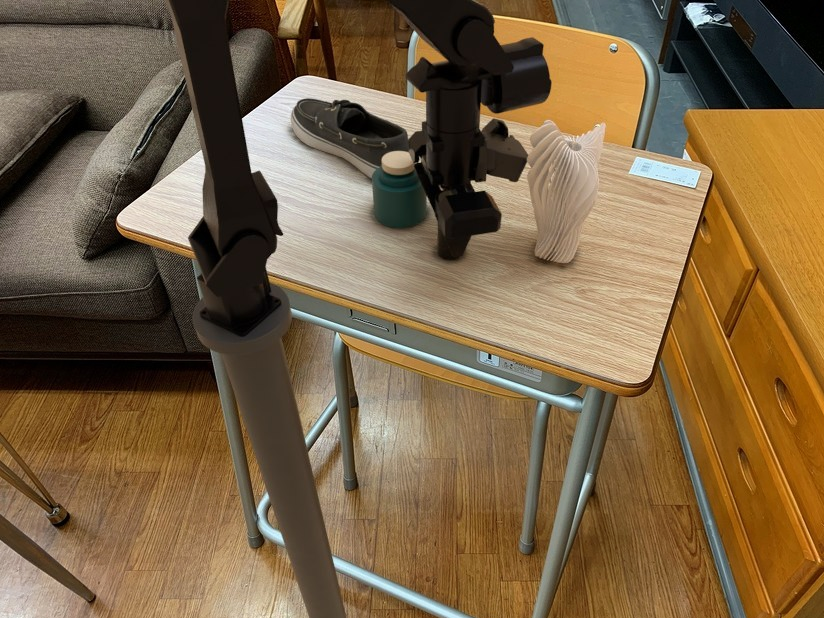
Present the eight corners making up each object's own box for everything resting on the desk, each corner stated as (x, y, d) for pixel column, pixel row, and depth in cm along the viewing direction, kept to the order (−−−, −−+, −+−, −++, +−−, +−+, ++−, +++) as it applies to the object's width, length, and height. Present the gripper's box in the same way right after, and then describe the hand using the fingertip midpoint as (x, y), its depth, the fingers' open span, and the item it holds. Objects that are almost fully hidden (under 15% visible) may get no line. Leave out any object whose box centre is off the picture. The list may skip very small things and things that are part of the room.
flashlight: (455, 265, 81) (457, 210, 75) (429, 255, 82) (428, 200, 76) (470, 249, 83) (473, 194, 77) (444, 239, 84) (445, 185, 79)
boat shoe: (323, 111, 108) (318, 67, 103) (434, 171, 96) (434, 125, 91) (279, 129, 104) (271, 85, 99) (389, 195, 91) (386, 147, 86)
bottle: (408, 234, 85) (406, 180, 80) (364, 217, 88) (359, 163, 82) (436, 207, 89) (436, 154, 84) (393, 192, 92) (390, 140, 86)
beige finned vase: (592, 239, 85) (620, 106, 72) (579, 278, 80) (607, 142, 67) (529, 226, 87) (546, 94, 74) (513, 263, 81) (528, 127, 69)
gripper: (556, 156, 65) (538, 277, 76) (498, 76, 78) (490, 190, 89) (447, 169, 63) (445, 292, 74) (405, 85, 76) (409, 201, 87)
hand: (450, 239), depth 81 cm, fingers open, 7 cm apart
